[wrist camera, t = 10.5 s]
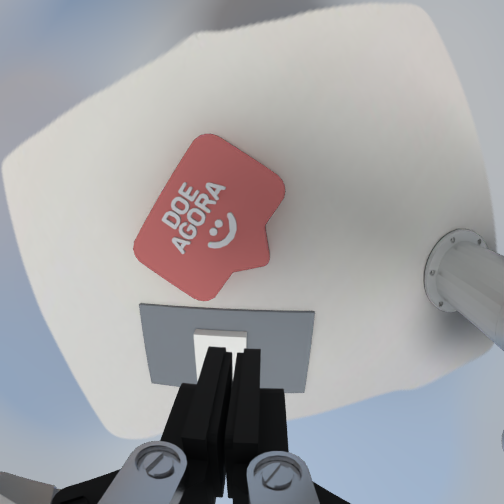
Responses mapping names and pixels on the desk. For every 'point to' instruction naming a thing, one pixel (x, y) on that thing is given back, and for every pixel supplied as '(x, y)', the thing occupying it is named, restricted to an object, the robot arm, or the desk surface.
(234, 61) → the desk surface
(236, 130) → the desk surface
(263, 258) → the plaque
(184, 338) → the tile mat
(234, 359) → the tile
